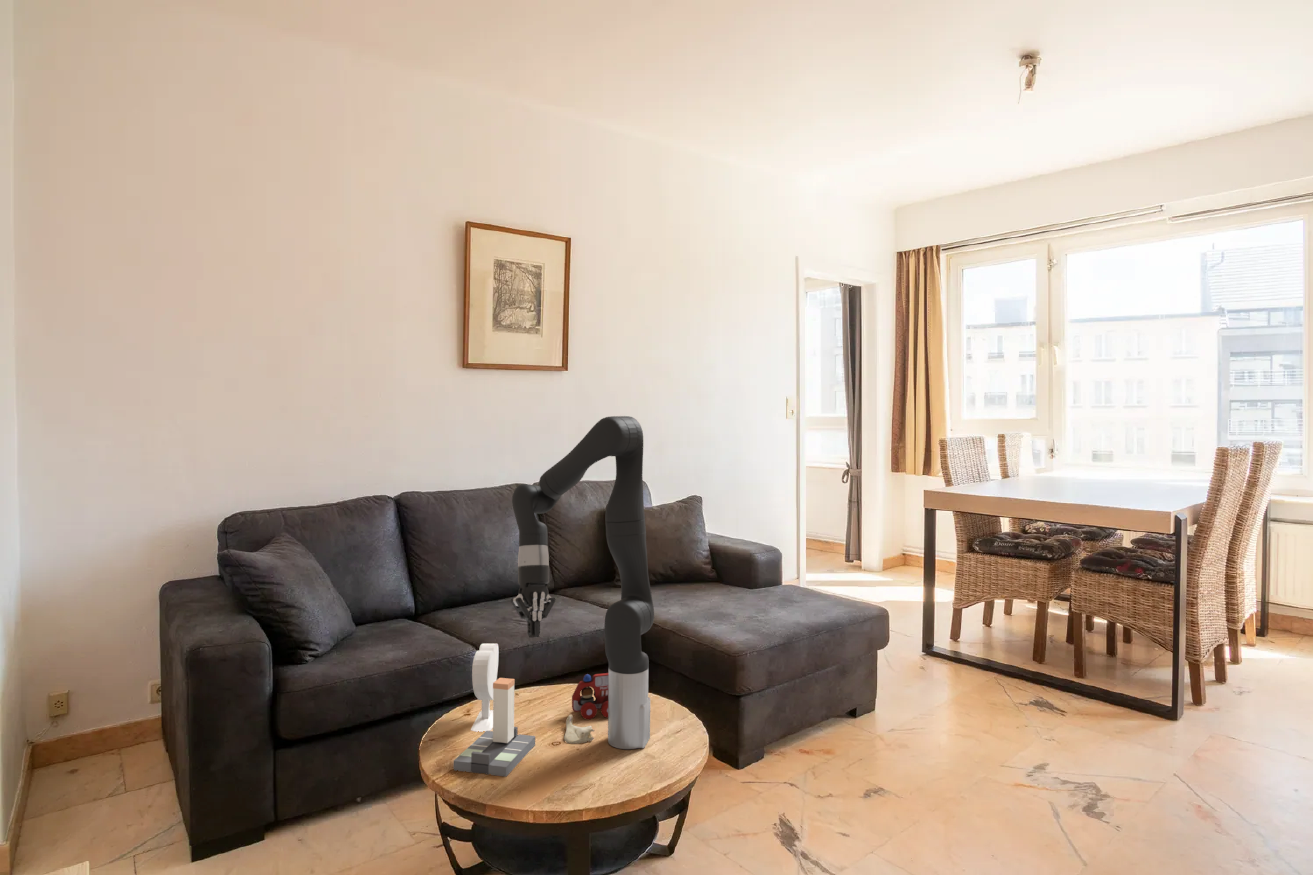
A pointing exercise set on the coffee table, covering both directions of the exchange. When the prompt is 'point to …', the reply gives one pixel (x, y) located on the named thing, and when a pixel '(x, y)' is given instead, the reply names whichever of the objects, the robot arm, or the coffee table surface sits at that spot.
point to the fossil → (577, 732)
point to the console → (494, 754)
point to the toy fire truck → (586, 700)
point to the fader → (503, 710)
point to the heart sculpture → (484, 683)
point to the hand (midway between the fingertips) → (533, 637)
